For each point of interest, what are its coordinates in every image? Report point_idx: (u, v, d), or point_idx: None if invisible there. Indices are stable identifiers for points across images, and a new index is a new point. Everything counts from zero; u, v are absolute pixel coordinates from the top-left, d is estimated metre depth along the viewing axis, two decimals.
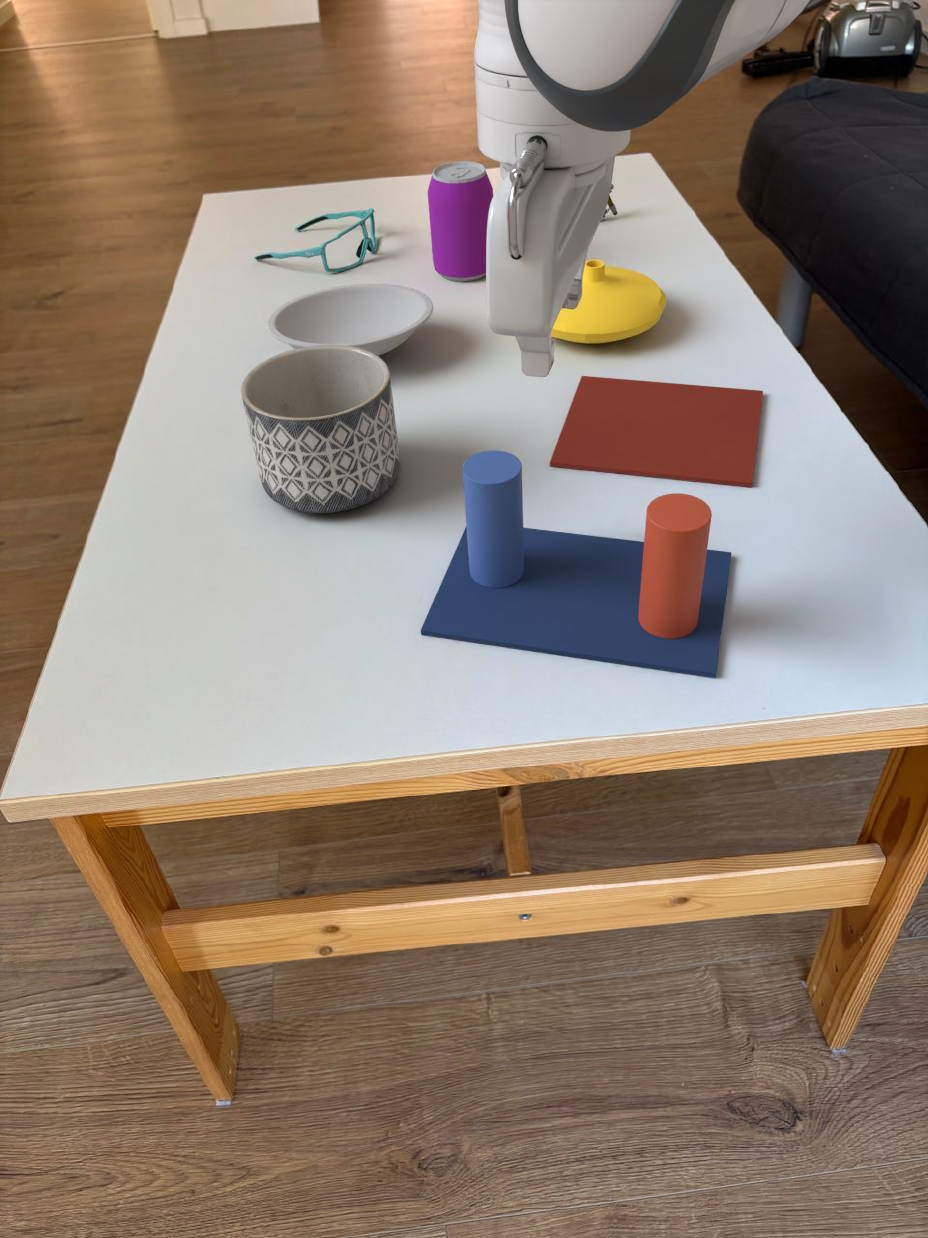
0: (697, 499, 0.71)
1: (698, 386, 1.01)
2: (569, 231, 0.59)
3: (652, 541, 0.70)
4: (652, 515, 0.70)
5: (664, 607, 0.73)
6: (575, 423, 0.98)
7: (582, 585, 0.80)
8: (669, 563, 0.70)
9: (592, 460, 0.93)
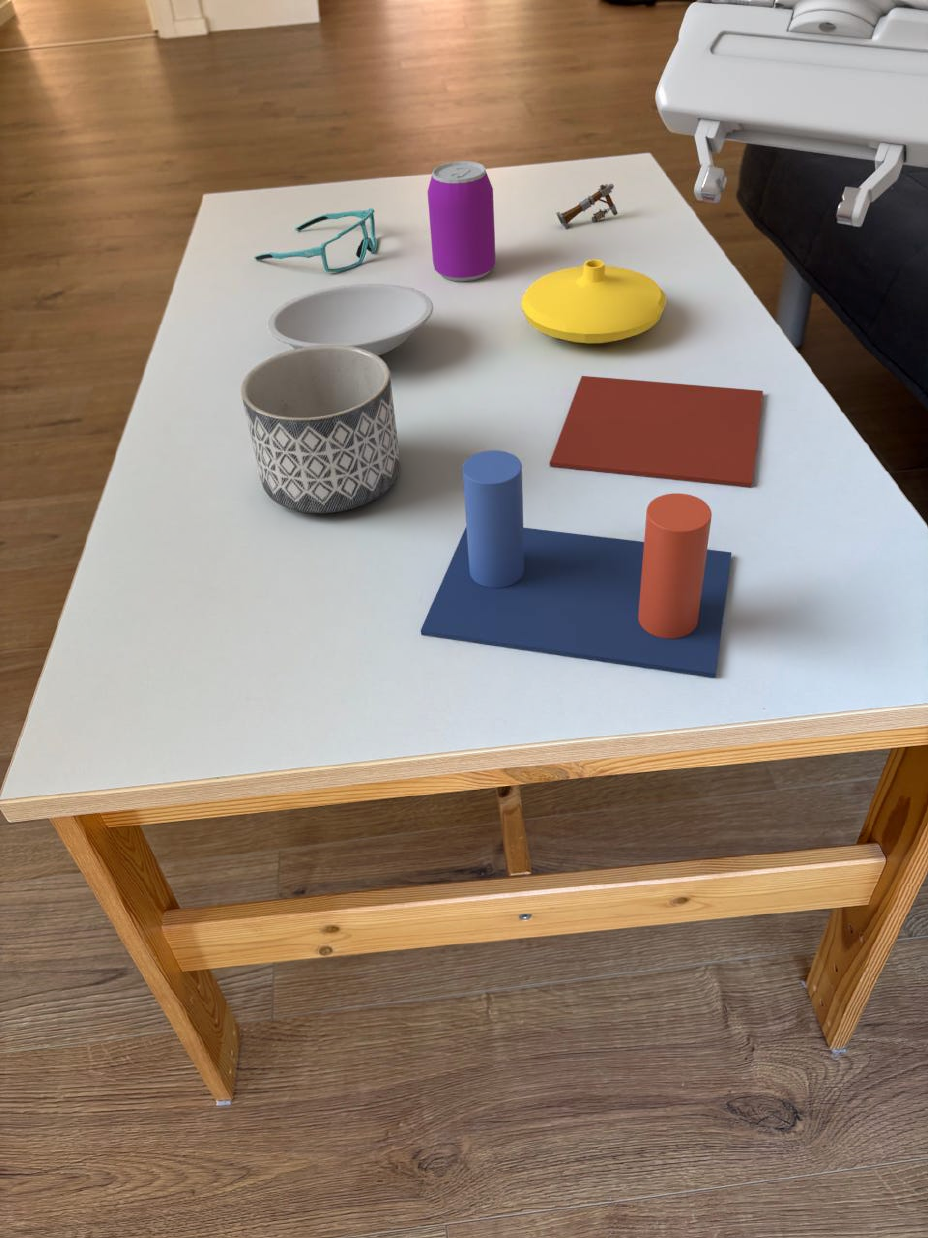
0: (697, 499, 0.71)
1: (698, 386, 1.01)
2: (759, 59, 0.66)
3: (652, 541, 0.70)
4: (652, 515, 0.70)
5: (664, 607, 0.73)
6: (575, 423, 0.98)
7: (582, 585, 0.80)
8: (669, 563, 0.70)
9: (592, 460, 0.93)
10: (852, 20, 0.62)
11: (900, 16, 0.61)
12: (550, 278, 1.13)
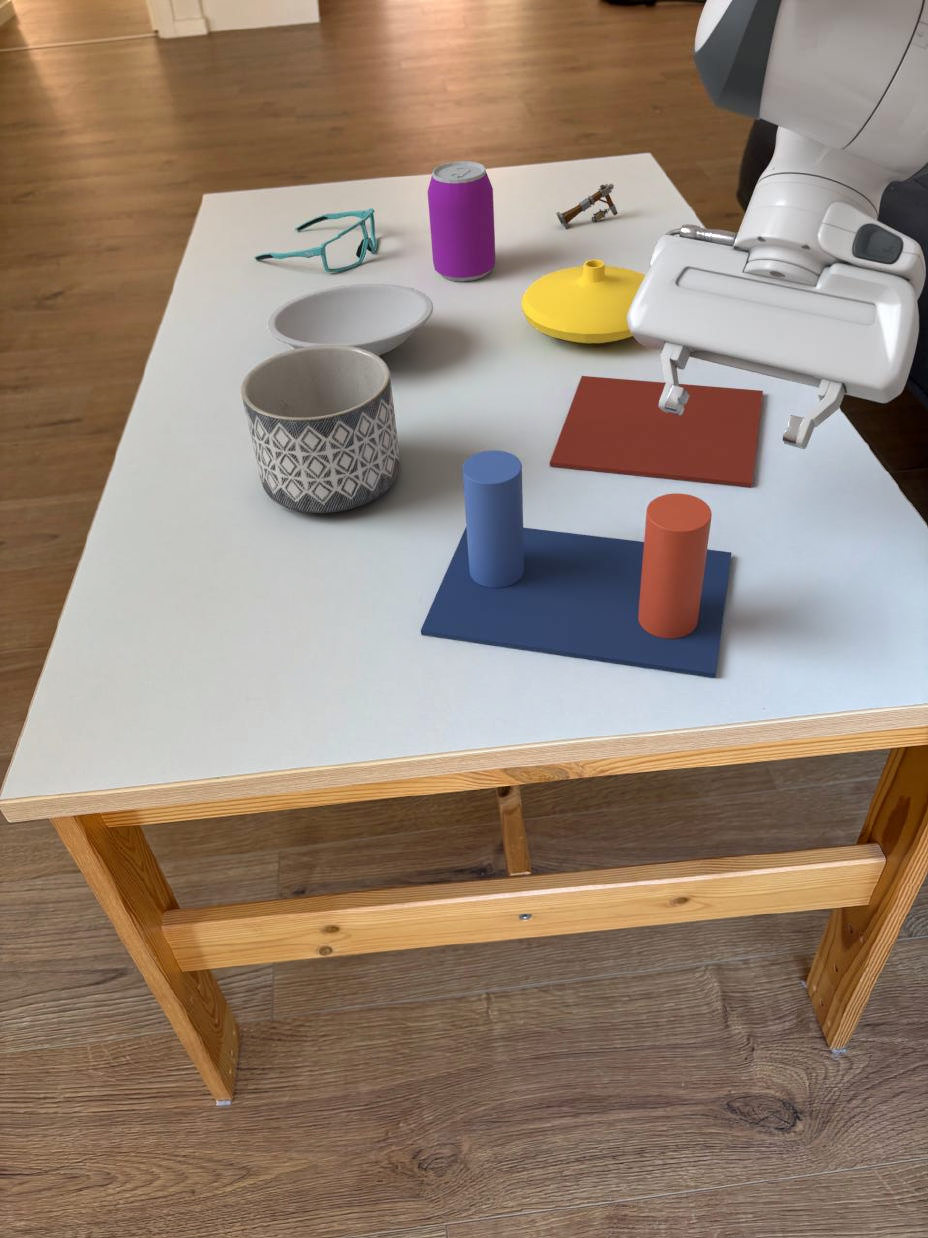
0: (697, 499, 0.71)
1: (698, 386, 1.01)
2: (718, 295, 0.73)
3: (652, 541, 0.70)
4: (652, 515, 0.70)
5: (664, 607, 0.73)
6: (575, 423, 0.98)
7: (582, 585, 0.80)
8: (669, 563, 0.70)
9: (592, 460, 0.93)
10: (798, 271, 0.70)
11: (840, 272, 0.69)
12: (550, 278, 1.13)
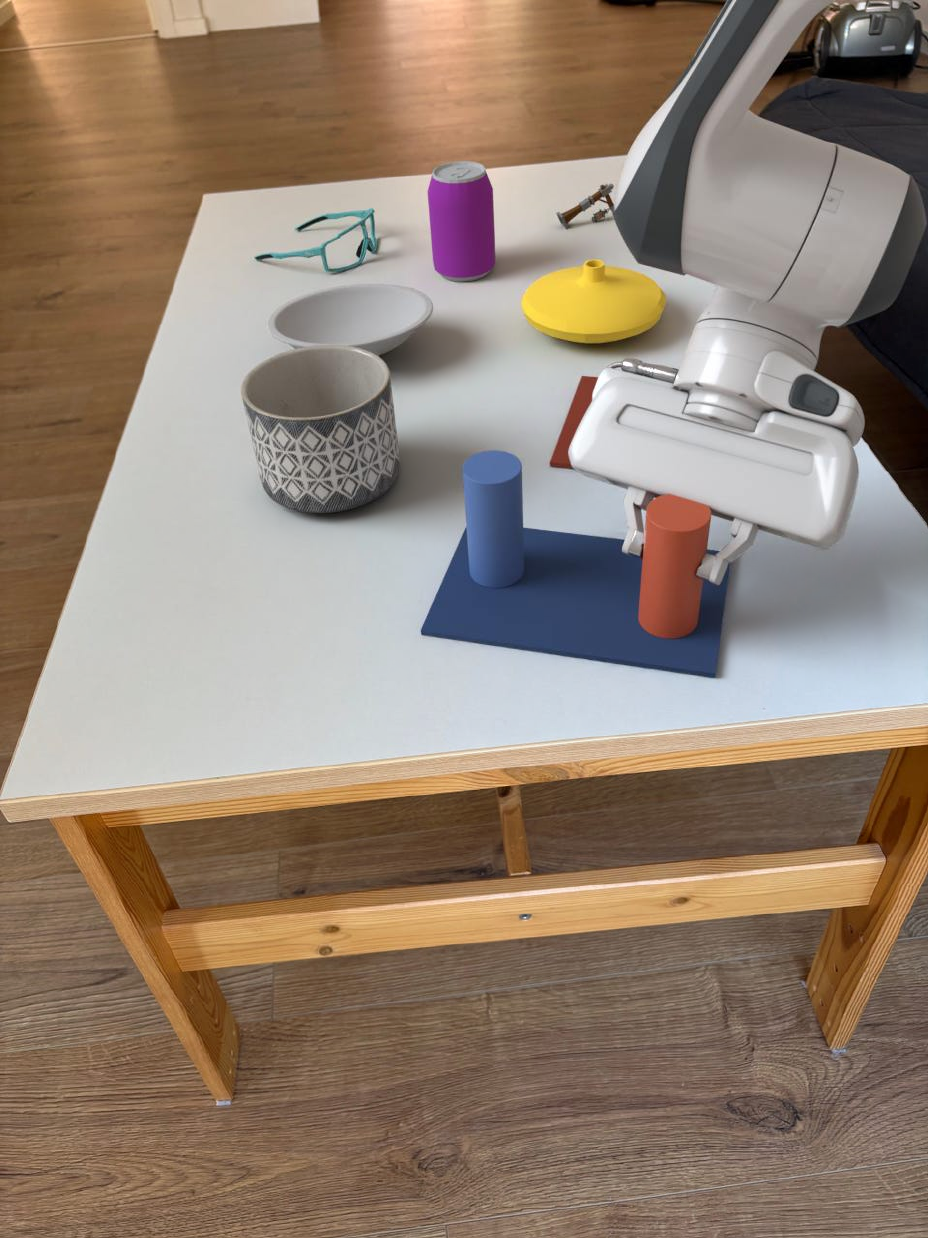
0: None
1: None
2: (657, 435, 0.72)
3: (652, 541, 0.70)
4: (652, 515, 0.70)
5: (664, 607, 0.73)
6: (575, 423, 0.98)
7: (582, 585, 0.80)
8: (669, 563, 0.70)
9: None
10: (736, 417, 0.69)
11: (777, 421, 0.68)
12: (550, 278, 1.13)
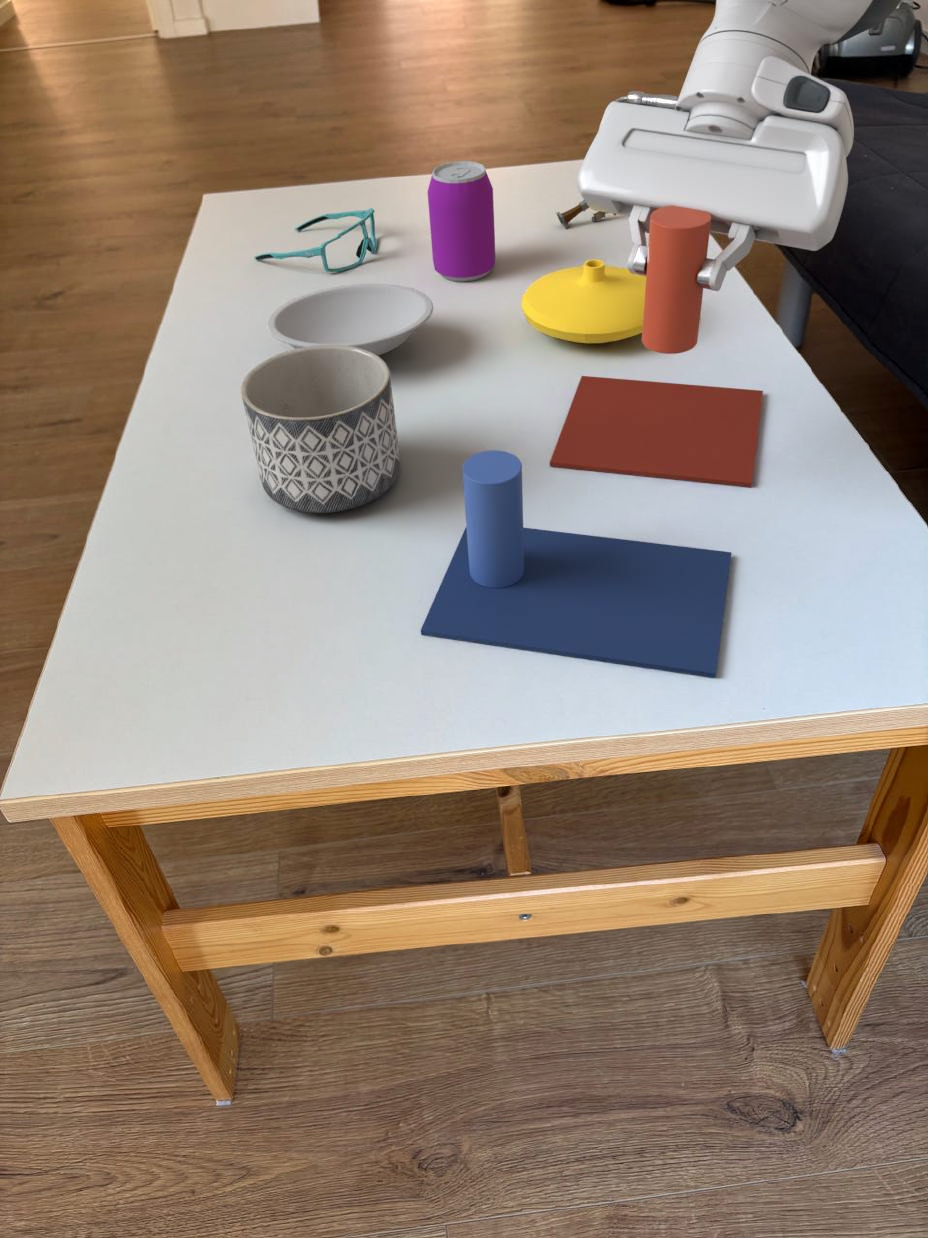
0: None
1: (698, 386, 1.01)
2: (661, 153, 0.77)
3: (655, 245, 0.75)
4: (655, 218, 0.75)
5: (666, 317, 0.78)
6: (575, 423, 0.98)
7: (582, 585, 0.80)
8: (672, 265, 0.76)
9: (592, 460, 0.93)
10: (734, 124, 0.74)
11: (772, 123, 0.73)
12: (550, 278, 1.13)
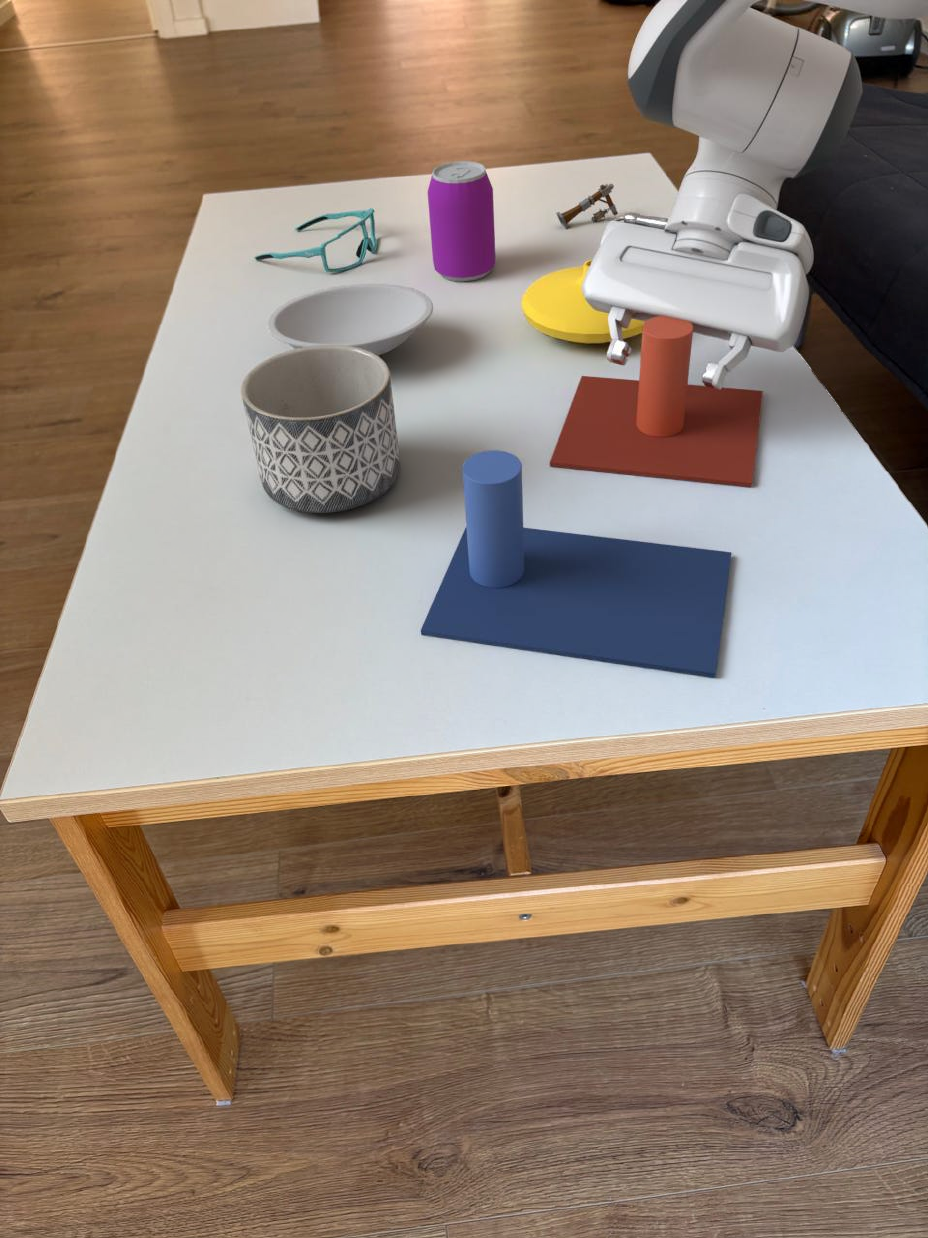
0: None
1: (698, 386, 1.01)
2: (652, 267, 0.92)
3: (647, 350, 0.90)
4: (647, 329, 0.90)
5: (656, 408, 0.93)
6: (575, 423, 0.98)
7: (582, 585, 0.80)
8: (660, 367, 0.90)
9: (592, 460, 0.93)
10: (713, 248, 0.89)
11: (744, 248, 0.88)
12: (550, 278, 1.13)
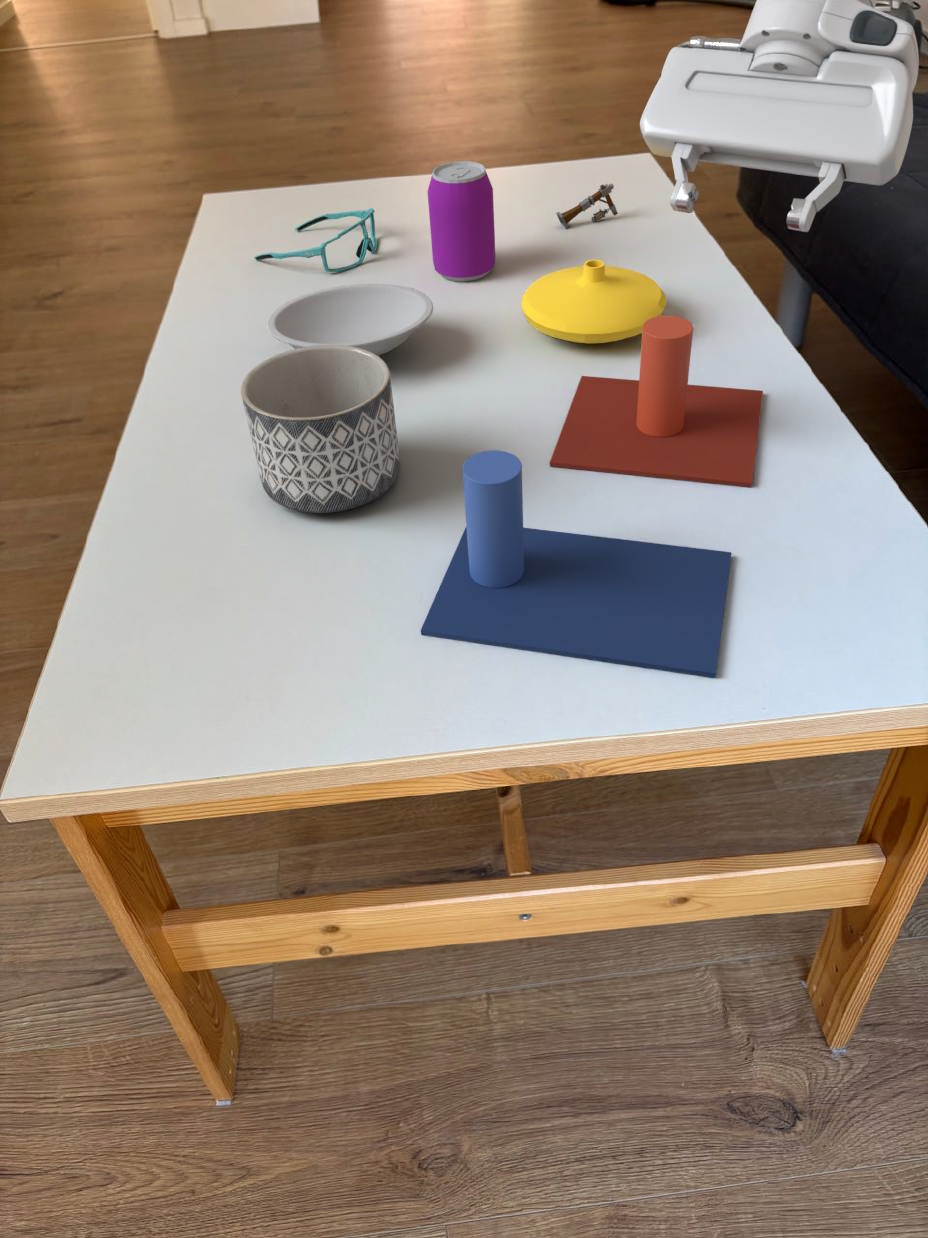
0: (682, 318, 0.91)
1: (698, 386, 1.01)
2: (725, 93, 0.78)
3: (647, 350, 0.90)
4: (647, 329, 0.90)
5: (656, 408, 0.93)
6: (575, 423, 0.98)
7: (582, 585, 0.80)
8: (660, 367, 0.90)
9: (592, 460, 0.93)
10: (800, 61, 0.75)
11: (838, 58, 0.74)
12: (550, 278, 1.13)
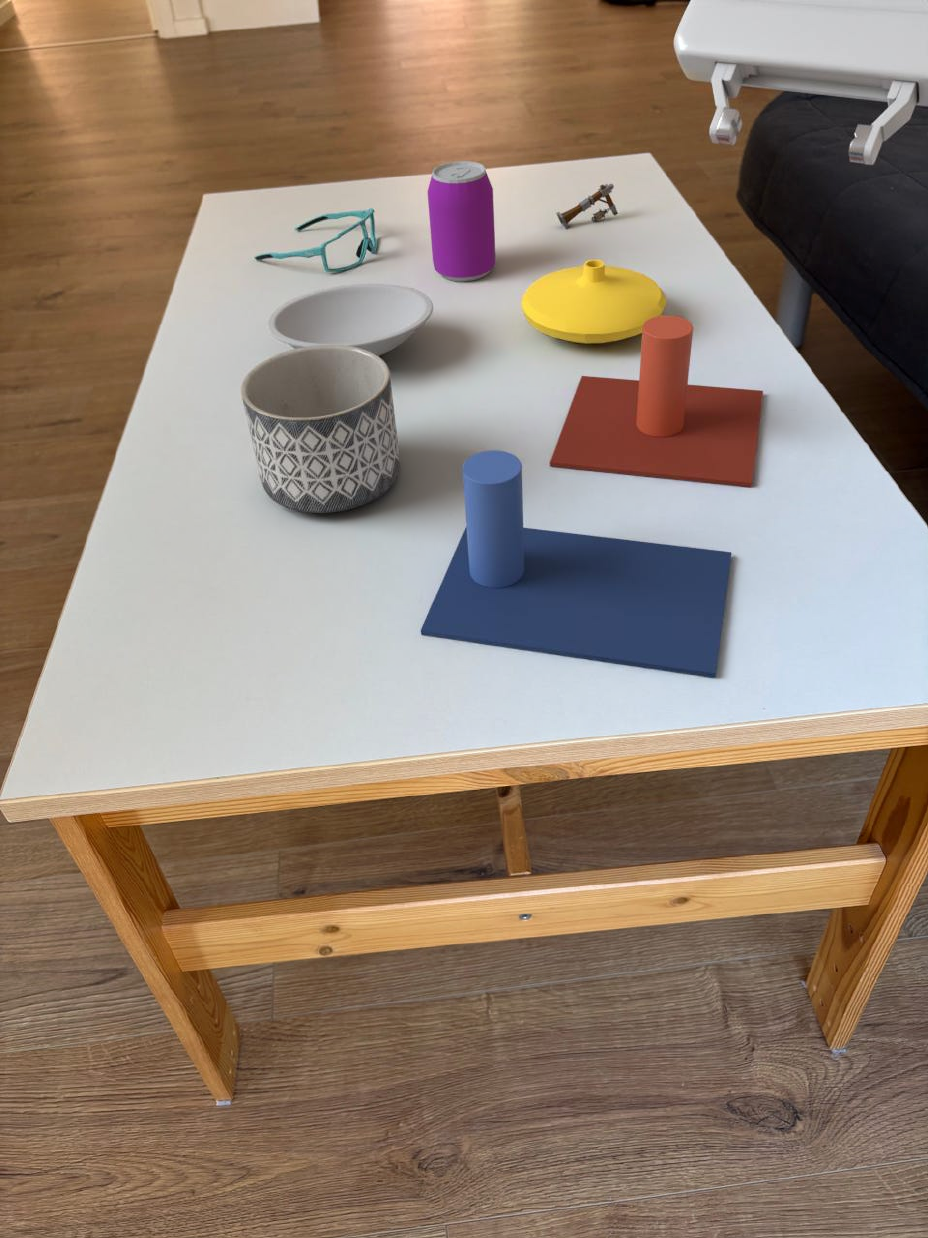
0: (682, 318, 0.91)
1: (698, 386, 1.01)
2: (775, 2, 0.67)
3: (647, 350, 0.90)
4: (647, 329, 0.90)
5: (656, 408, 0.93)
6: (575, 423, 0.98)
7: (582, 585, 0.80)
8: (660, 367, 0.90)
9: (592, 460, 0.93)
10: None
11: None
12: (550, 278, 1.13)
